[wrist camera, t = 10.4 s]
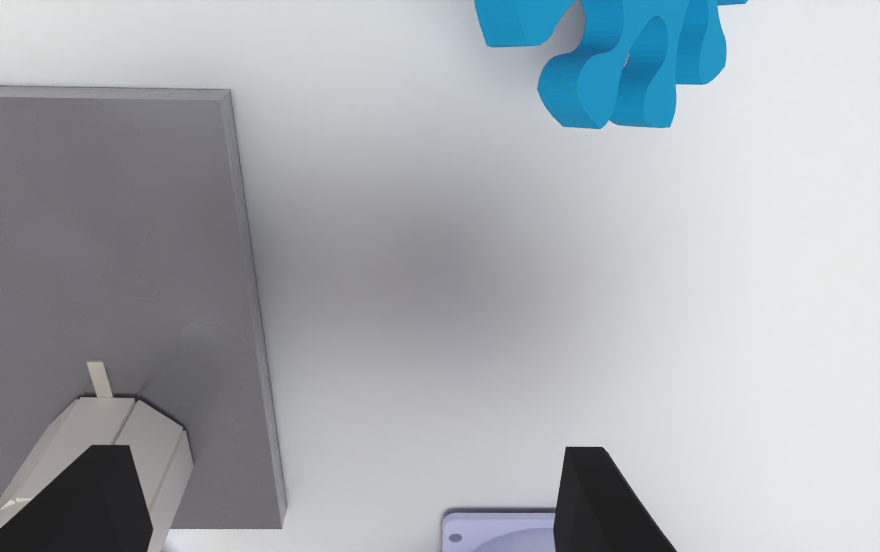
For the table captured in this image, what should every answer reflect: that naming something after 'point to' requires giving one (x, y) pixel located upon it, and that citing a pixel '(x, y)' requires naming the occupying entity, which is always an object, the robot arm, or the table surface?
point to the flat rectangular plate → (136, 284)
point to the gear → (615, 55)
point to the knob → (110, 423)
